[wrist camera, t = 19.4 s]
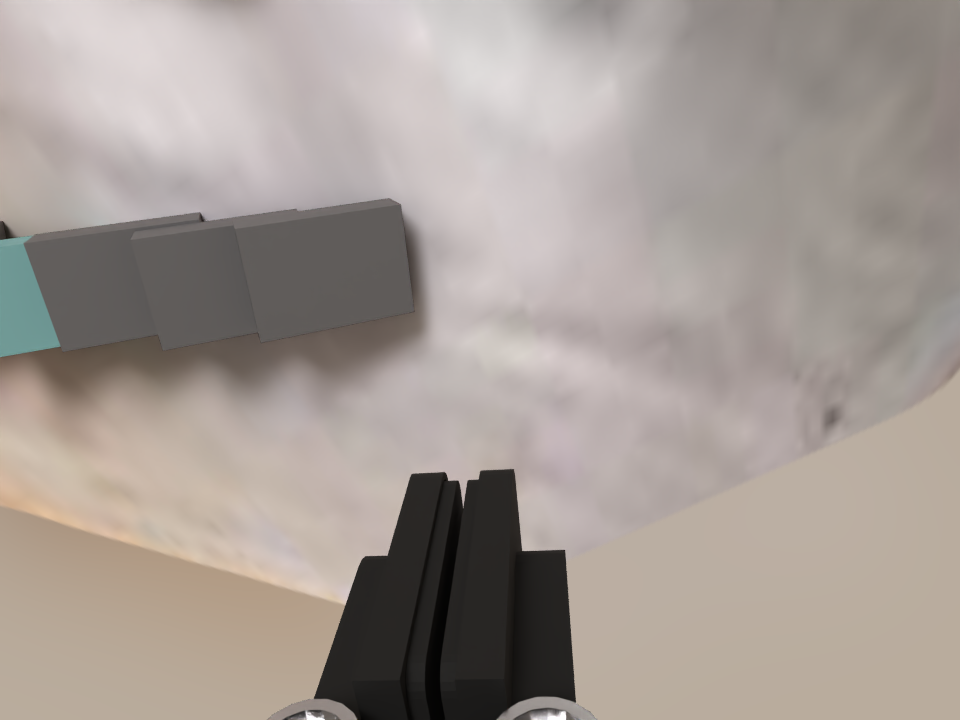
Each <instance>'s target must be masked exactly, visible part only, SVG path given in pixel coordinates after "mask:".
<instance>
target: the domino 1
mask: <svg viewBox="0 0 960 720" xmlns="http://www.w3.org/2000/svg"><path fill="white" fill-rule="evenodd" d="M31 237H32V236H27V237H19V238H11V239H4V240H0V357H4V356H9V355H15V354H21V353H26V352H32V351H38V350H44V349H49V348H55V347H61V346H60V343H59V341H58V338H57V335H56V332H55V330H54V327H53V324H52V321H51V319H50V316H49V313H48V310H47V308H46V305H45V302H44V299H43V297H42V294H41V291H40V288H39V285H38V283H37V280H36V277H35V274H34V272H33V269H32V266H31V263H30V261H29V258H28V255H27V252H26V250H25V247H24V244H23V243H24V242H26V241H27V240H28V239H30V238H31Z"/></svg>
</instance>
